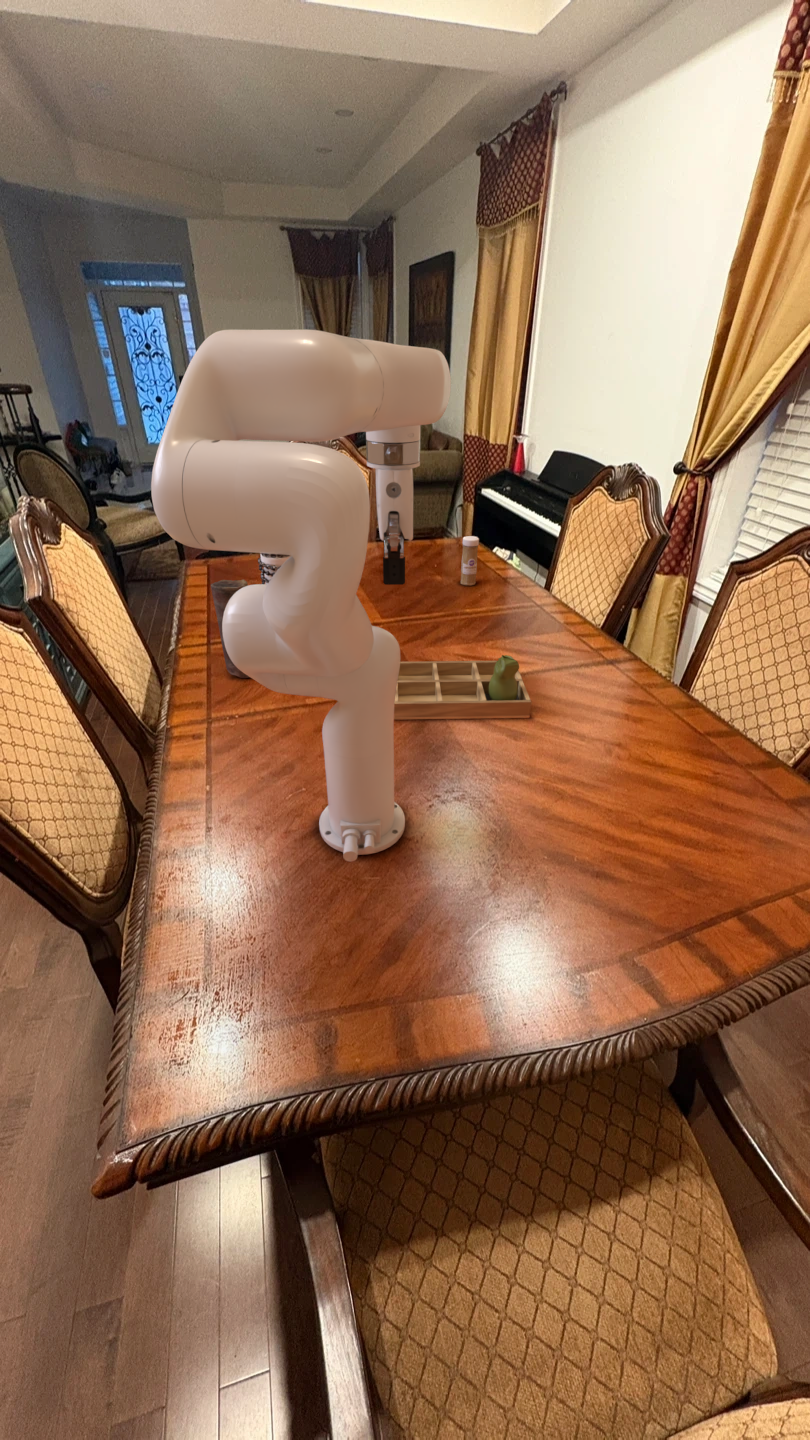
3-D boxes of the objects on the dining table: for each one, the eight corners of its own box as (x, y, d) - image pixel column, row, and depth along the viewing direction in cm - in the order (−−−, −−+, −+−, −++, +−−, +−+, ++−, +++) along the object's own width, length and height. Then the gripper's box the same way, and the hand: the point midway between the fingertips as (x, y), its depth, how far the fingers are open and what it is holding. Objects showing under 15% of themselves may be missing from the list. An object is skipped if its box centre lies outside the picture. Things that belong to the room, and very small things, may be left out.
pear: (503, 693, 122) (507, 648, 116) (522, 704, 118) (527, 658, 113) (482, 702, 119) (486, 655, 114) (501, 713, 115) (505, 666, 110)
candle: (219, 674, 130) (202, 583, 119) (241, 660, 136) (228, 573, 125) (246, 682, 127) (232, 590, 116) (269, 667, 133) (257, 578, 122)
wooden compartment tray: (529, 717, 115) (531, 701, 113) (394, 719, 115) (394, 703, 113) (512, 674, 130) (514, 660, 128) (393, 676, 129) (392, 661, 127)
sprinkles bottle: (465, 587, 176) (468, 540, 169) (457, 582, 179) (459, 536, 172) (478, 584, 178) (482, 538, 170) (470, 580, 181) (473, 534, 174)
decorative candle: (264, 633, 148) (250, 529, 135) (301, 627, 151) (291, 525, 138) (272, 648, 141) (258, 540, 127) (311, 642, 144) (301, 535, 131)
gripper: (422, 464, 78) (420, 592, 87) (417, 445, 93) (416, 556, 102) (364, 464, 78) (368, 592, 87) (368, 445, 92) (371, 556, 101)
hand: (394, 573), depth 94 cm, fingers open, 9 cm apart
